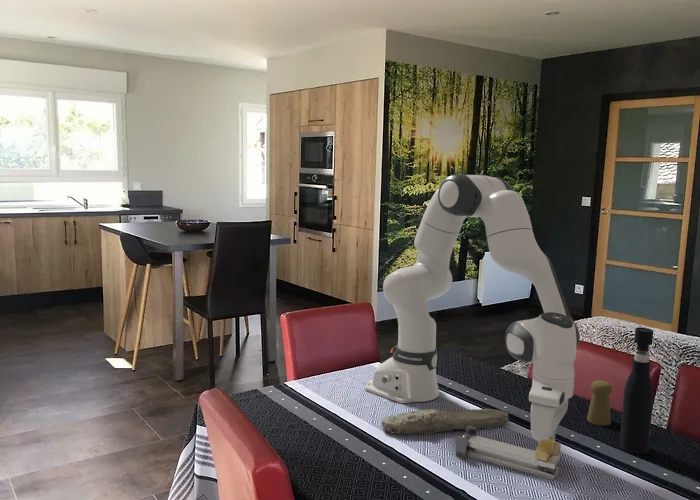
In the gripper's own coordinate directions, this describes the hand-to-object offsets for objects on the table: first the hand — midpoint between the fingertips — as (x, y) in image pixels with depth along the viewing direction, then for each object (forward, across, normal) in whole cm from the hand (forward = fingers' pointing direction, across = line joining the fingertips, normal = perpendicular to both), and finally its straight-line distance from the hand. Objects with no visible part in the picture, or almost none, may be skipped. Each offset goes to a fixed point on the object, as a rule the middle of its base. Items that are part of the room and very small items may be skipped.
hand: (549, 442), depth 136 cm
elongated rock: (+6, -6, -28) cm, 29 cm away
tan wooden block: (+5, -1, 0) cm, 5 cm away
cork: (+5, -31, +6) cm, 32 cm away
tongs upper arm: (+3, +5, -8) cm, 10 cm away
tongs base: (+5, +5, -8) cm, 11 cm away
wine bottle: (+5, -19, +16) cm, 26 cm away
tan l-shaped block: (+1, +4, 0) cm, 4 cm away
